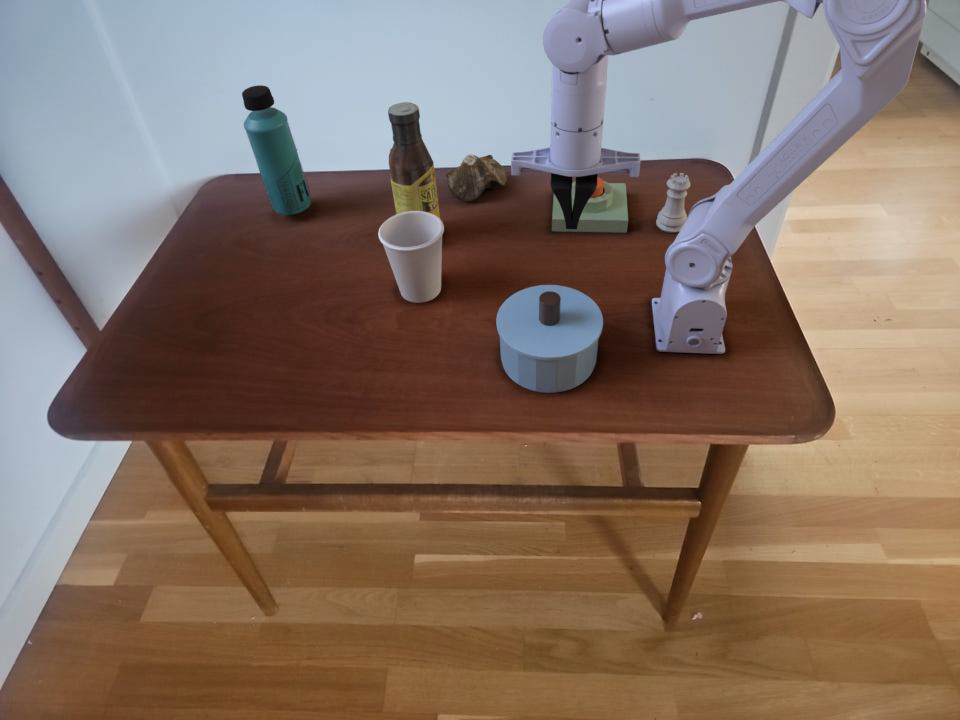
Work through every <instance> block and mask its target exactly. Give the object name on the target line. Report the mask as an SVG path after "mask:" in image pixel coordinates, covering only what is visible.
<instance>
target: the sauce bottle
mask: <svg viewBox="0 0 960 720" xmlns="http://www.w3.org/2000/svg"><path fill="white" fill-rule="evenodd" d="M387 116H388V120H389V123H390V125H391V131H392V141H393V144H392V147H391V149H390V151H389V154H388V167H389V173H390V174H389V177H390V184H391V189H392V191H391V192H392V195H393V202H394V209H395V215H397V214H399V213H403V212H408V211H423V212H428V213H431V214H433V215H435V216H437V217H438V218H439V219H440V220H441V215H440V207H439V197H438V190H437V189H438V188H437V181H436V172H435V163H434V160H433V158H432V156H431V154H430V152H429V150H428V148H427V146H426V143H425V141H424V140H423V135H422V133H421V123H420V119H421V114H420V107H419V106H418V104H416V103H413V102H408V101H405V102H398V103H396V104H392V105H391V106H390V107H389V108H388V110H387Z"/></svg>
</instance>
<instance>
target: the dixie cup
mask: <svg viewBox="0 0 960 720" xmlns="http://www.w3.org/2000/svg"><path fill="white" fill-rule="evenodd" d="M444 232H445V225H444V223H443V220H442V219H441V218H440V219H439V218H438V217H437V216H435V215H433V214H431V213H428V212H423V211H408V212H403V213H399V214H397V215H396V214H395V215H392V216H391V217H389V218H388V219H386V220H385V221H384V222H383V223H382V224H381V225H380V227H379V229H378V233H377V234H378V235H377V236H378V239H379V241H380V243H381V244H382V245H383V249H384V251H385V254H386V256H387V259H388V262H389V265H390V268H391V270H392V273H393V276H394V279H395V282H396V284H397V287H398V289H399V293H400V295H401V297H402V298H403V299H404V300H406V301H408V302H410V303H415V304H421V303H426V302H429V301H432V300H434V299H435V298H436V297H437V296H439V294H440V293H441V291H442V290H441V289H442V262H443V261H442V260H443V234H444Z"/></svg>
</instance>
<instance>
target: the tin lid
mask: <svg viewBox="0 0 960 720" xmlns="http://www.w3.org/2000/svg"><path fill="white" fill-rule="evenodd" d="M603 317H604V316H603V314H602V311H601V309H600V306H599V305H598V304H597V303H596V302H595V301H594V300H593V298H591V297H590V296H588V295H587V294H586V293H583V292H581V291H580V290H578V289H574V288H573V287H568V286H564V285H558V284H540V285H535V286H529V287H526V288H524V289H520V290H519V291H517V292H515V293H513V294H511V295H510V296H509V297H508V298H506V299H505V300H504V302H503V303H501V306H500V307H499V309H498V311H497V314H496V317H495V319H496V320H495V321H496V323H495V325H496V330H497V333H498V336H499V338H500V337H501V339H502V340H503V341H504V343H505V344H506V345H507V346H508V347H510V348H511V349H512V350H514V351H515V352H517V353H519V354H521V355H524V356H526V357H530V358H533V359H539V360H562V359H567V358H571V357H574V356H577V355H579V354H581V353H583V352H585V351H586V350H588V349H589V348H590V347H592V346H593V345H594V344H595V343H596V341H597V340H598V341H599V339H600V337H601V335H602V332H603V328H604V318H603Z"/></svg>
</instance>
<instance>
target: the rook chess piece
mask: <svg viewBox="0 0 960 720" xmlns="http://www.w3.org/2000/svg"><path fill="white" fill-rule="evenodd" d="M666 185H667V187H668V190H666V195H667V196H666V199H665V200H666V201H665V202H664V203H665V204H664V206H663V207H662V208H661V210H660V211H659V212H658V214H657V218H656V220H655V223H656V226H657V227H658V229H659V230H660V231H663V232H664V233H668V234H678V233H679V232H680V230H681V228H682V227H683V225H684V223H685V221H686V220H687V218H688V214H687V212H686V208H685V201H686V197H687V195H688V192H687V190H689V188H690V187H691V186H692V184H691V181H690V178H689V175H688V174H685V173H683V172H680V173H679V175H678V172H675V173H673V174H671V175H670V178H669V179H667V180H666Z"/></svg>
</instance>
